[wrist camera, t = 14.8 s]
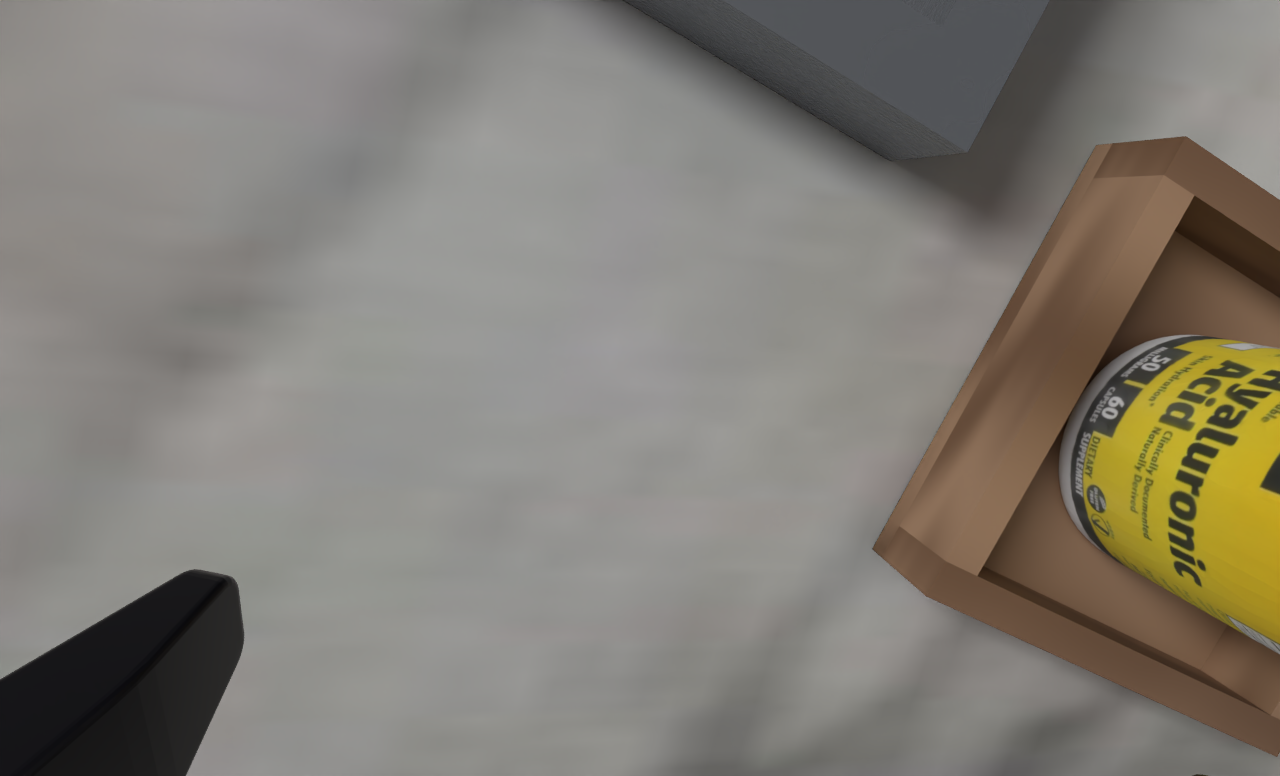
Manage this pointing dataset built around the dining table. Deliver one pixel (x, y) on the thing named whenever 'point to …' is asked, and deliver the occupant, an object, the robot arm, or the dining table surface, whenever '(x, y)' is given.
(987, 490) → the walnut tray
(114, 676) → the robot arm
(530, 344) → the dining table surface
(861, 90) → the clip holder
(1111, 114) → the dining table surface
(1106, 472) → the supplement bottle
